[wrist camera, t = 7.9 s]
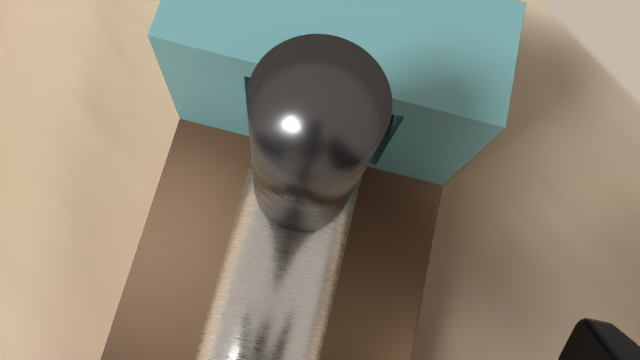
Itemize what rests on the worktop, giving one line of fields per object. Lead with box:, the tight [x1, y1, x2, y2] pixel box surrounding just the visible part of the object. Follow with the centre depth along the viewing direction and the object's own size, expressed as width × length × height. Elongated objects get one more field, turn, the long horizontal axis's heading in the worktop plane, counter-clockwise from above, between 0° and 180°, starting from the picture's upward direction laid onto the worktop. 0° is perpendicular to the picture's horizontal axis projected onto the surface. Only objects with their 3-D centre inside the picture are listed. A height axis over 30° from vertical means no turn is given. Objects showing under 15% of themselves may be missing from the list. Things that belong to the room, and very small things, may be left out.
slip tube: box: [195, 34, 392, 360], centre depth 12 cm, size 13×3×8 cm, turn 167°
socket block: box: [148, 0, 526, 186], centre depth 16 cm, size 3×8×5 cm, turn 76°
